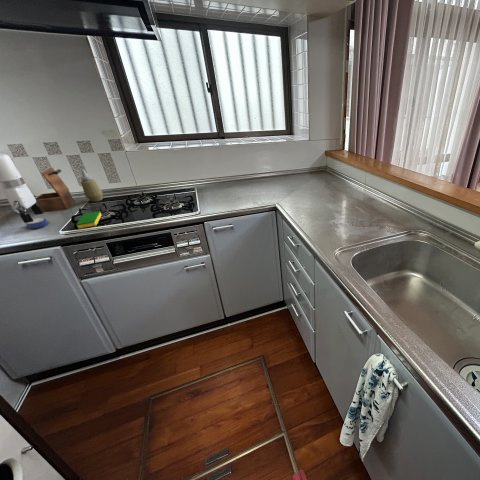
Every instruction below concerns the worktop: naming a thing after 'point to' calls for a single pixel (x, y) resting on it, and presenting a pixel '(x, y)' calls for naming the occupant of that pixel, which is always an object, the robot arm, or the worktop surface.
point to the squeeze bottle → (91, 188)
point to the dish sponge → (89, 219)
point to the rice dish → (37, 223)
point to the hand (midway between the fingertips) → (34, 218)
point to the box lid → (55, 181)
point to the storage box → (54, 201)
